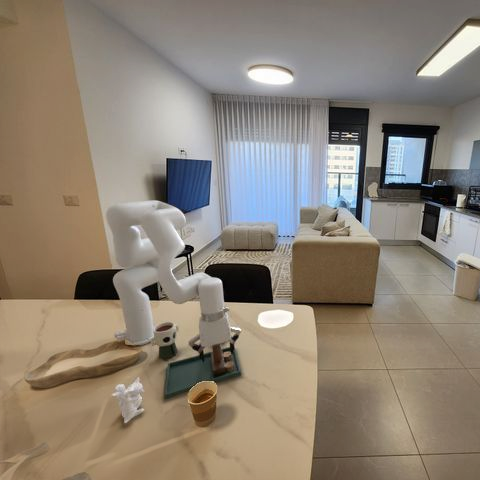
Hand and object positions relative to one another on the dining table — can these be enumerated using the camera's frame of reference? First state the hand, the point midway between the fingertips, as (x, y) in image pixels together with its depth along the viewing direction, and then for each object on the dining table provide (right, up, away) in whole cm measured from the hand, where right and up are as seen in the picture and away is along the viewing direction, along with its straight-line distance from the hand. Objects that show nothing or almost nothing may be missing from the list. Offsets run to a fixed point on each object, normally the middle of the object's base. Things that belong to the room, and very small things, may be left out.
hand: (217, 355), depth 94 cm
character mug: (-22, -4, +7) cm, 23 cm away
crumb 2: (+4, -5, 0) cm, 7 cm away
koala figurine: (-19, -10, -17) cm, 27 cm away
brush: (0, -5, +1) cm, 5 cm away
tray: (-5, -6, -1) cm, 7 cm away
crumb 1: (+2, -3, +5) cm, 7 cm away
